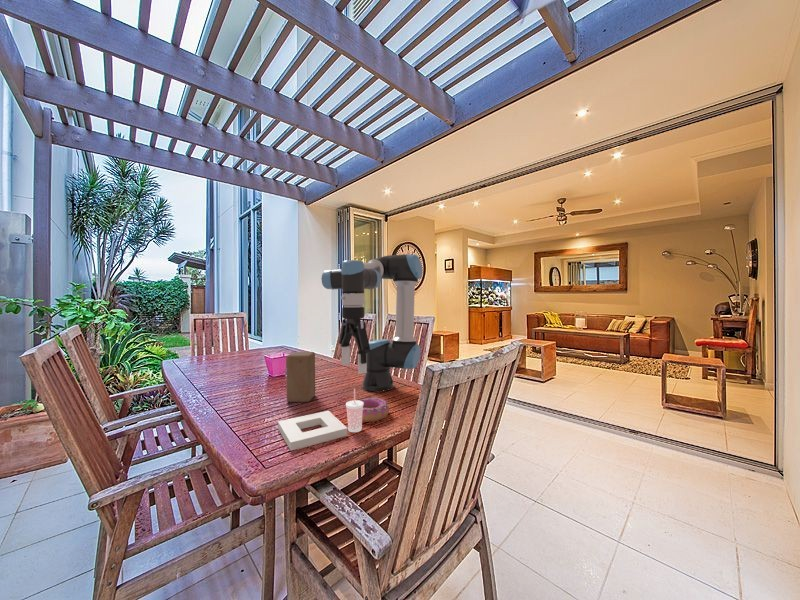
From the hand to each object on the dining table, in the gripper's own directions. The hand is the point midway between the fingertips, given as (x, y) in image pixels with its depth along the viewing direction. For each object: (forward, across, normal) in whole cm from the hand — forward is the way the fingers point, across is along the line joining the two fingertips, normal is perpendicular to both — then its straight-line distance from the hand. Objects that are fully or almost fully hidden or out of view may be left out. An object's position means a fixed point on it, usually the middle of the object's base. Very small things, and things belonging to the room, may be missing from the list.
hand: (353, 369), depth 107 cm
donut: (+21, -8, +10) cm, 25 cm away
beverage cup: (+21, 0, 0) cm, 21 cm away
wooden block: (+21, -41, -7) cm, 46 cm away
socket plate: (+21, -6, -13) cm, 25 cm away
